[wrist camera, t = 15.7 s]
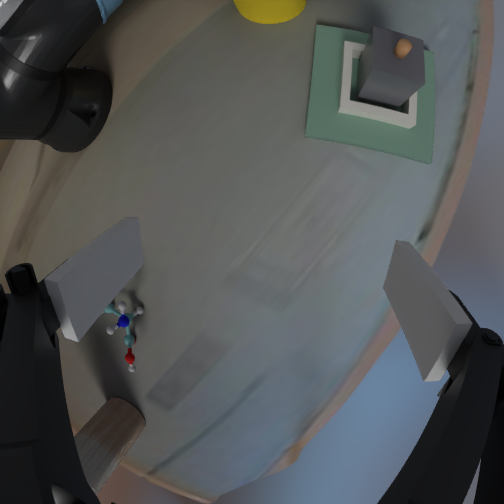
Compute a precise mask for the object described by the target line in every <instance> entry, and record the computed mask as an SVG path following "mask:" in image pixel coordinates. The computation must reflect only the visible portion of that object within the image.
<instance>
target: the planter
mask: <svg viewBox="0 0 504 504" xmlns="http://www.w3.org/2000/svg"><path fill="white" fill-rule="evenodd" d="M144 427H145V420H144V418H143V416H142V414H141V413H140V412H139V411H138V410H137V409H136V408H135V407H134V406H133V405H132V404H130V403H129V402H127V401H125V400H123V399H121V398H117V397H112V398H110V399H109V400H108V401H107V402H106V403H105V404H104V405H103V406H102V407H101V408H100V409H99V410H98V411H97V413H96V414H95V415H94V416H93V417H92V418H91V419H90V420H89V421H88V422H87V423H86V424H85V426H84V427H83V428H82V429H81V430H80V431H79V432H78V433H77V434H76V435H75V436H74V440H75V444H76V448H77V452H78V455H79V459H80V462H81V465H82V468H83V471H84V475H85V477H86V480H87V482H88V484H89V486H90V487H91V489H92V490H93V491H94V493H95V494H96V495H97V494H98V492H99V491H100V489H101V488H102V487H103V485H104V484H105V482H106V481H107V480H108V478H109V477H110V475H111V474H112V473H113V471H114V470H115V469H116V467H117V466H118V464H119V463H120V462H121V460H122V459H123V457H124V456H125V455H126V453H127V452H128V450H129V449H130V447H131V446H132V445H133V443H134V442H135V440H136V439H137V438H138V436H139V435H140V433H141V432H142V430H143V429H144Z"/></svg>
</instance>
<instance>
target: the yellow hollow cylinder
mask: <svg viewBox="0 0 504 504" xmlns="http://www.w3.org/2000/svg"><path fill="white" fill-rule="evenodd" d="M233 1H234V3H235V5H236V7H237V9H238V11H239V12H240V14H241V15H242V16H244V17H245V18H247V19H248V20H251V21H253V22H257V23H263V24H275V23H281V22H285V21H288V20H290V19H292V18H294V17H296V16H297V15H298V14H300V13H301V12H302V10H303V9H304V7H305V5H306V0H233Z"/></svg>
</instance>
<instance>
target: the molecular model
mask: <svg viewBox="0 0 504 504" xmlns="http://www.w3.org/2000/svg"><path fill="white" fill-rule="evenodd" d="M118 307H119V309H120V310H121V313H120V312H118V311H117V310H115V309H114V308H115V306H114V304H113V303H110V304H109V305H108V306H107V308H106V309H105V310H104V311H103V312H102V314H103V313H104V312H106V313H112V312H113V313H114V314H116V315H118V316H119V317H120V318H119V320H118V323H117V324H115V325H114V326H108V327H107V329H106V331H107V333H108V334H110V335H111V334H113V333H114V332H115V330H116V329H117V328H119V327H120V326H121V327H126V332H127V335H126V336H125V337H124V342H125V343H126V344H127V345H128V353H127V354H126V355H125V360H126V361H127V362H128V363H129V365H130V366H129V367H128V369H129V371H130V372H134V371H135V370H136V367H135V366H134V365H133V362H134V360H135V356H134V355H133V354H132V349H131V345H133V344H135V342H136V339H135V337H134V336H133V335H131V334H130V327H129V324H130V323H131V322H132V318H133V317H134V316H136V315H137V314H142V313H143V311H144V309H143V308H142V307H137V309H136V311H135V312H133V313H131V314H128V313H125V308H126V303H125V302H124V301H120V302H119V303H118ZM98 318H99V317H98ZM98 318H97V319H98Z"/></svg>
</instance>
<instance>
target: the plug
mask: <svg viewBox="0 0 504 504" xmlns="http://www.w3.org/2000/svg"><path fill="white" fill-rule="evenodd" d="M424 85H425V60H424V45H423V40H421V39H418V38H415V37H411V36H408V35H405V34H402V33H398V32H395V31H391V30H388V29H384V28H380V27H376V26H373V27H372V29H371V32H370V35H369V37H368V40H367V43H366V45H365V48H364V51H363V53H362V56H361V59H360V61H359V64H358V79H357V94H356V100H358V101H363V102H368V103H372V104H376V105H380V106H384V107H388V108H392V109H397V108H398V107H399V106H400V105H401V104H403V103H404V102H405V101H406V100H407V99H408V98H410V97H411V96H412V95H413V94H414V93H415V92H417V91H418V90H419V89H420V88H421V87H422V86H424Z"/></svg>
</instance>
